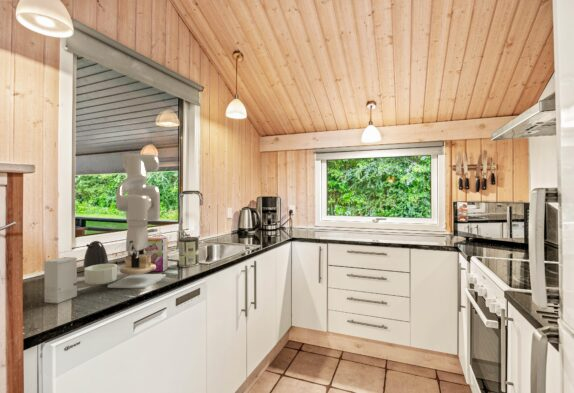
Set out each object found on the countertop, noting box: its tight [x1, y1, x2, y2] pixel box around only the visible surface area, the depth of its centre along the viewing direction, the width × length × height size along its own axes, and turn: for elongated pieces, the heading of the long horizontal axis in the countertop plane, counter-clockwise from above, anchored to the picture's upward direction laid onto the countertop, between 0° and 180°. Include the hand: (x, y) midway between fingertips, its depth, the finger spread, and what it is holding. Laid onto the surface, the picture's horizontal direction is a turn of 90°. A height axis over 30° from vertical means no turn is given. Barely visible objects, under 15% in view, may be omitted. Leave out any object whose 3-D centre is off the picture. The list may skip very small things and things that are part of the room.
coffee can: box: [178, 236, 200, 268], centre depth 164 cm, size 10×10×14 cm
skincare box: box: [43, 256, 78, 304], centre depth 112 cm, size 8×6×15 cm
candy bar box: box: [146, 236, 169, 273], centre depth 152 cm, size 11×5×16 cm, turn 84°
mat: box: [107, 273, 167, 290], centre depth 134 cm, size 18×16×1 cm
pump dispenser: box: [82, 240, 109, 269], centre depth 149 cm, size 10×10×15 cm
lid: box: [119, 254, 156, 276], centre depth 134 cm, size 14×14×7 cm
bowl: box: [84, 263, 118, 286], centre depth 135 cm, size 12×12×6 cm
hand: (138, 265), depth 134 cm, fingers closed on lid, 4 cm apart
